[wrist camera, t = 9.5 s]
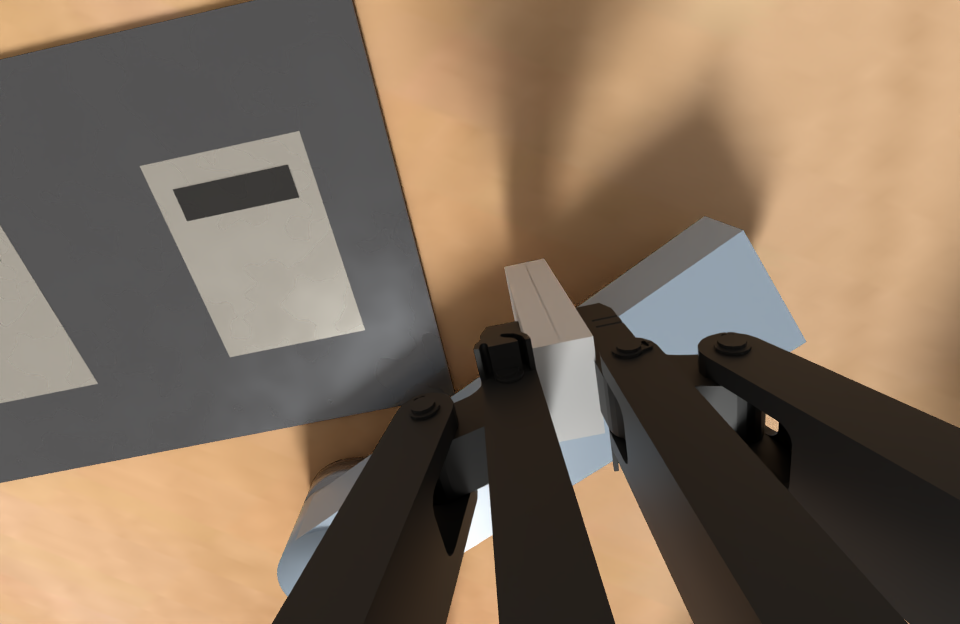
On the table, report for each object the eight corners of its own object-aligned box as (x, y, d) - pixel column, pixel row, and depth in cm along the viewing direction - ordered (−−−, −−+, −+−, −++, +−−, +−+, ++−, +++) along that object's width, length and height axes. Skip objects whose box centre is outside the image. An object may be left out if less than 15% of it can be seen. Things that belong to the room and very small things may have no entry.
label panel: (347, -20, 15) (345, -22, 14) (454, 392, 21) (454, 395, 20) (-325, 137, 15) (-337, 137, 15) (-33, 486, 22) (-38, 490, 21)
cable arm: (759, 313, 18) (810, 344, 15) (353, 575, 23) (339, 633, 20) (701, 214, 16) (747, 231, 14) (277, 518, 21) (251, 574, 18)
